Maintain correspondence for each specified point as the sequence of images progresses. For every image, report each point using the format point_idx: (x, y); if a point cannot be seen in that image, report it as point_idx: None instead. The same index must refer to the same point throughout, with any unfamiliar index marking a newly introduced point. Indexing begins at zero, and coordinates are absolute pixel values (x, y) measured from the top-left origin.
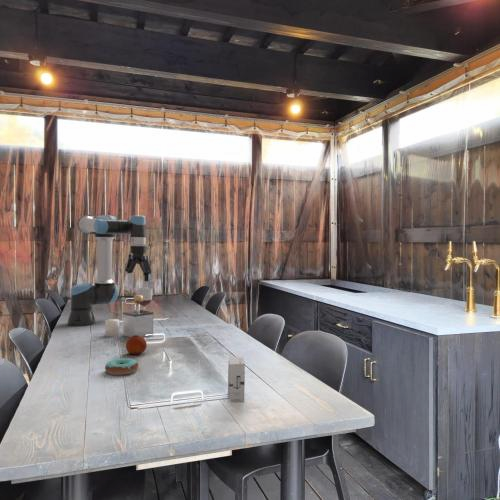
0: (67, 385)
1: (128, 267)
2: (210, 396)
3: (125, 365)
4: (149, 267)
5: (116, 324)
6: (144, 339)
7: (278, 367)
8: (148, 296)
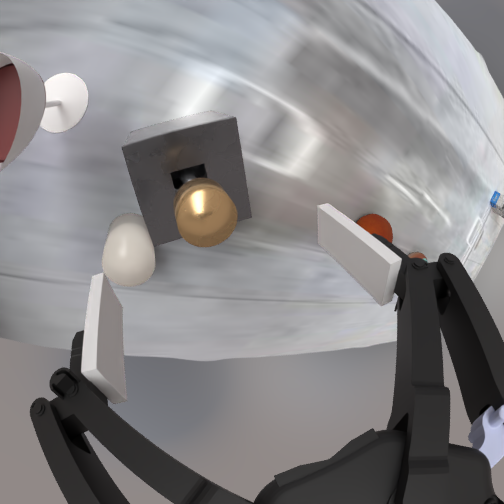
0: (393, 319)
1: (92, 457)
2: (484, 217)
3: None
4: (477, 299)
5: (152, 246)
6: (389, 227)
7: (496, 108)
8: (39, 90)
